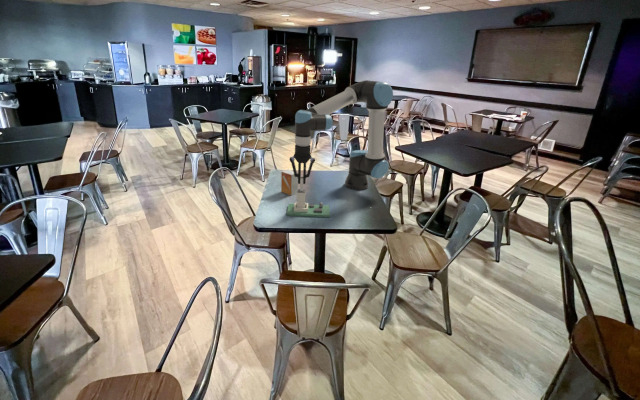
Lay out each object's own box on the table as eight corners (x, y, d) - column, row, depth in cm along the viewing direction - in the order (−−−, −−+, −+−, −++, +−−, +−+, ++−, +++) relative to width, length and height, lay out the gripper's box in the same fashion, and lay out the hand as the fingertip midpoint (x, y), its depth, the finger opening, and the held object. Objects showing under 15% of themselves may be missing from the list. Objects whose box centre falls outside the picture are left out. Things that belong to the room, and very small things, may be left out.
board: (329, 207, 175) (329, 201, 174) (329, 217, 164) (330, 210, 163) (288, 205, 174) (288, 199, 173) (286, 215, 163) (286, 209, 162)
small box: (281, 192, 192) (281, 171, 186) (288, 189, 196) (288, 169, 191) (291, 195, 187) (291, 174, 182) (298, 192, 192) (298, 172, 187)
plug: (304, 207, 171) (305, 189, 166) (304, 210, 167) (305, 192, 163) (297, 207, 170) (297, 189, 166) (296, 210, 167) (297, 191, 163)
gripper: (316, 143, 158) (314, 187, 168) (289, 141, 158) (289, 186, 167) (316, 146, 151) (314, 192, 161) (288, 145, 151) (288, 191, 161)
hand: (301, 189), depth 164 cm, fingers closed
